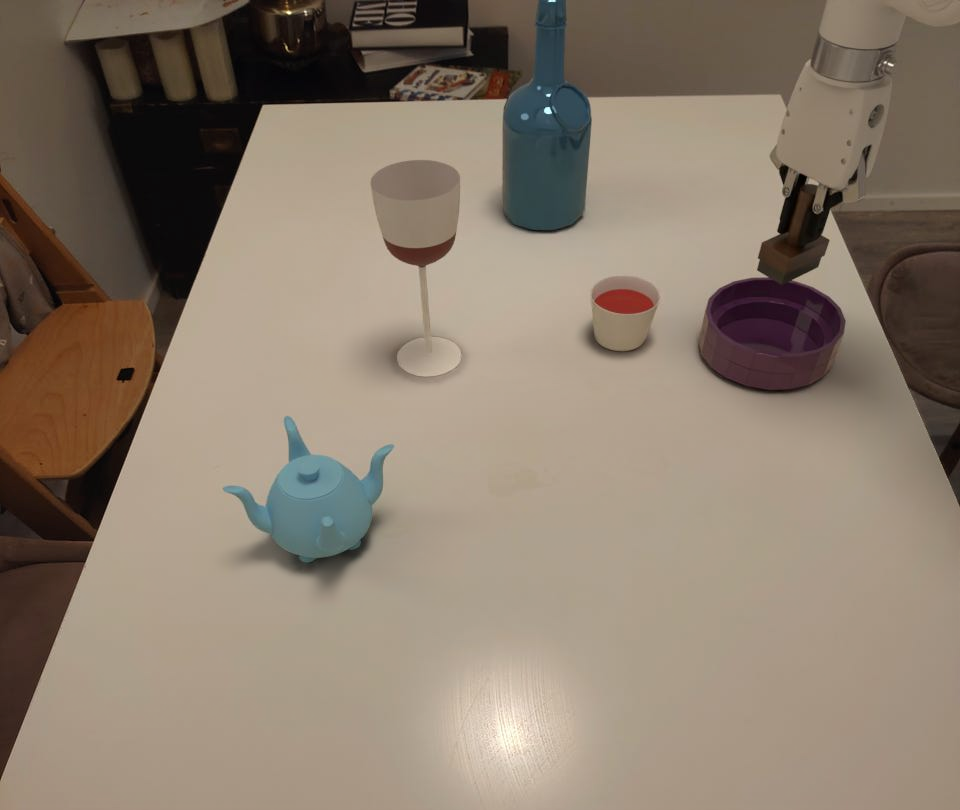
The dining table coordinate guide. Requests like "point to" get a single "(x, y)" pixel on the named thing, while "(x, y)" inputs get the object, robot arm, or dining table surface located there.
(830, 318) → the bowl
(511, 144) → the wine bottle
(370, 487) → the teapot
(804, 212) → the brush
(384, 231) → the wineglass
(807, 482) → the dining table surface
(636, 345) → the candle
